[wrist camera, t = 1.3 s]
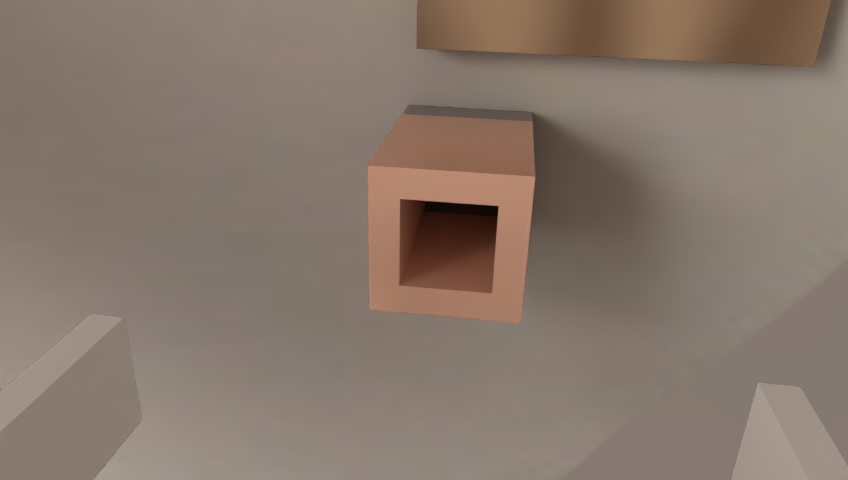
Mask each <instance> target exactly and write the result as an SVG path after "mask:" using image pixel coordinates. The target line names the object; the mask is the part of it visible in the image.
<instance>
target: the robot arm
mask: <svg viewBox="0 0 848 480" xmlns="http://www.w3.org/2000/svg"><path fill="white" fill-rule="evenodd" d="M141 420H142V414H141V408H140V403H139V398H138V392H137V387H136V381H135V376H134V371H133V365H132V360H131V355H130V349H129V344H128V338H127V333H126V328H125V322H124V318H123V317H113V316H103V315H94V314H91V315H89V316H88V317H87V318H86V319H85V320H83V321H82V322H81V323H80V324H79V325H78V326H76V327H75V328H74V329H73V330H72V331H71V332H69V333H68V334H67V335H66V336H65V337H64V338H62V339H61V340H60V341H59V342H58V343H56V344H55V345H54V346H53V347H52V348H51V349H49V350H48V351H47V352H46V353H45V354H44V355H42V356H41V357H40V358H39V359H38V360H36V361H35V362H34V363H33V364H32V365H31V366H29V367H28V368H27V369H26V370H25V371H24V372H22V373H21V374H20V375H19V376H18V377H16V378H15V379H14V380H13V381H12V382H11V383H9V384H8V385H7V386H6V387H5V388H4V389H2V390H1V391H0V480H94V478H95V477H96V476H97V475H98V474H99V472H100V471H101V470H102V469H103V467H104V466H105V465H106V464H107V462H108V461H109V460H110V459H111V457H112V456H113V455H114V454H115V453H116V451H117V450H118V449H119V448H120V446H121V445H122V444H123V443H124V441H125V440H126V439H127V438H128V436H129V435H130V434H131V433H132V432H133V430H134V429H135V428H136V427H137V425H138V424H139V423H140V422H141ZM731 480H848V466H847V464H846V462H845V461H844V459H843V457H842V456H841V454H840V453H839V451H838V449H837V447H836V446H835V444H834V442H833V441H832V439H831V437H830V436H829V434H828V432H827V431H826V429H825V427H824V426H823V424H822V422H821V421H820V419H819V418H818V416H817V414H816V413H815V411H814V409H813V408H812V406H811V404H810V403H809V401H808V399H807V398H806V396H805V394H804V393H803V391H802V389H801V388H800V387H797V386H787V385H778V384H768V383H758V385H757V388H756V392H755V396H754V399H753V403H752V406H751V410H750V413H749V417H748V421H747V424H746V428H745V431H744V435H743V438H742V442H741V446H740V449H739V453H738V456H737V460H736V464H735V467H734V471H733V474H732V478H731Z"/></svg>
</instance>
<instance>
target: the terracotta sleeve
mask: <svg viewBox="0 0 848 480" xmlns="http://www.w3.org/2000/svg"><path fill="white" fill-rule="evenodd" d="M534 185H535V160H534V140H533V120H532V112H520V111H502V110H484V109H466V108H448V107H430V106H412V105H409V106H408V107H407V109H406V110H405V112H404V113H403V114H402V116H401V117H400V119H399V120H398V122H397V123H396V125H395V126H394V128H393V129H392V131H391V132H390V133H389V135H388V136H387V138H386V139H385V141H384V142H383V144H382V145H381V147H380V148H379V150H378V151H377V152H376V154H375V155H374V157H373V158H372V160H371V161H370V163H369V164H368V249H369V310H379V311H390V312H401V313H412V314H423V315H434V316H445V317H456V318H467V319H478V320H489V321H500V322H511V323H521V318H522V307H523V297H524V287H525V277H526V267H527V256H528V246H529V236H530V226H531V216H532V205H533V195H534Z"/></svg>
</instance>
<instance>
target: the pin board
mask: <svg viewBox="0 0 848 480" xmlns="http://www.w3.org/2000/svg"><path fill="white" fill-rule="evenodd" d="M830 4H831V0H418V8H417V49H438V50H460V51H482V52H504V53H526V54H547V55H569V56H591V57H613V58H634V59H656V60H678V61H700V62H722V63H743V64H765V65H787V66H809V67H814V65H815V61H816V57H817V54H818V50H819V46H820V42H821V38H822V34H823V31H824V27H825V23H826V19H827V15H828V11H829V8H830Z"/></svg>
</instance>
